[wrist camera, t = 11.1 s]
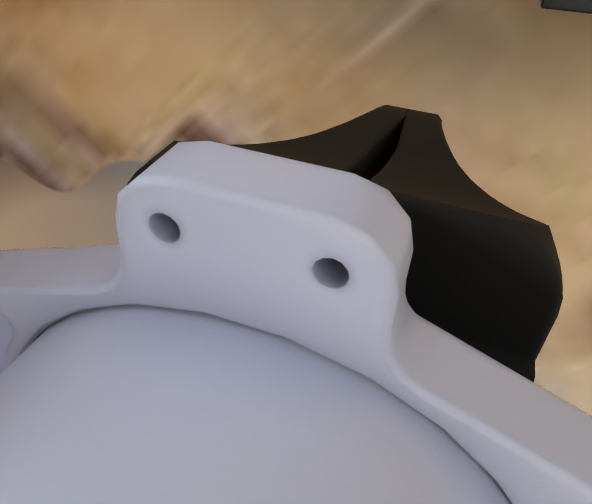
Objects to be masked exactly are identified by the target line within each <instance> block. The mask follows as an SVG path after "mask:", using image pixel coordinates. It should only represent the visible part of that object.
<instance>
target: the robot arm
mask: <svg viewBox="0 0 592 504" xmlns="http://www.w3.org/2000/svg"><path fill="white" fill-rule="evenodd" d="M441 122H442V120H441V118H440V117H439V115H437V114H432V113H426V112H421V111H416V110H411V109H405V108H400V107H395V106H390V105H384V106H381V107H379V108H376V109H374V110H372V111H370V112H368V113H366V114H364V115H361V116H359V117H357V118H355V119H353V120H351V121H348V122H346V123H343V124H341V125H338V126H335V127H333V128H330V129H327V130H325V131H322V132H319V133H316V134H312V135H309V136H305V137H300V138H296V139H291V140H285V141H277V142H270V143H262V144H246V145H225V144H220V143H216V142H212V141H195V142H182V141H173V142H172V143H171V144H170V145H168V146H167V147H166V148H165V149H163V150H162V151H161V152H160V153H159V154H157V155H156V156H155V157H154V158H152V159H151V160H150V161H149V162H147V163H146V164H145V165H144V166H143V167H141V168H140V169H139V170H138V171H137V172H136V173H135V174H134V175H133V177H132V178H131V180H130V181H129V182H128V184H127V186H126V187H125V188H124V189H123V190H121V192H119V193H118V196H117V207H116V216H115V223H116V228H117V234H118V239H119V244H110V245H92V246H73V247H55V248H34V249H15V250H0V504H592V416H590V415H588V414H587V413H585V412H583V411H581V410H580V409H578V408H576V407H575V406H573V405H571V404H569V403H568V402H566V401H564V400H563V399H561V398H559V397H557V396H556V395H554V394H552V393H551V392H549V391H547V390H545V389H544V388H542V387H540V386H539V385H537V384H535V383H534V378H535V360H536V358H537V356H538V354H539V352H540V350H541V348H542V346H543V344H544V342H545V340H546V338H547V336H548V334H549V332H550V330H551V328H552V326H553V324H554V322H555V320H556V318H557V316H558V313H559V310H560V306H561V303H562V299H563V295H562V292H563V284H562V273H561V267H560V262H559V258H558V254H557V251H556V247H555V244H554V240H553V237H552V234H551V230H550V228H549V226H548V225H546V224H544V223H541V222H539V221H536V220H534V219H532V218H529V217H527V216H525V215H522V214H520V213H518V212H516V211H514V210H512V209H510V208H508V207H507V206H505V205H503V204H502V203H500V202H498V201H497V200H495V199H494V198H492V197H491V196H490V195H488V194H487V193H486V192H485V191H483V190H482V189H481V188H480V187H478V186H477V185H476V184H475V183H474V182H473V181H472V180H471V179H470V178H469V177H468V176H467V174H466V173H465V172H464V171H463V170H462V169H461V168H460V166H459V165H458V163H457V161H456V160H455V158H454V156H453V154H452V152H451V150H450V148H449V146H448V144H447V141H446V139H445V136H444V133H443V129H442V123H441Z"/></svg>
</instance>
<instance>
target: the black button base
mask: <svg viewBox="0 0 592 504" xmlns="http://www.w3.org/2000/svg"><path fill="white" fill-rule="evenodd" d="M540 2H541V8H545V9H553V10H562V11H570V12H579V13H587V14H592V0H540Z"/></svg>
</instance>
